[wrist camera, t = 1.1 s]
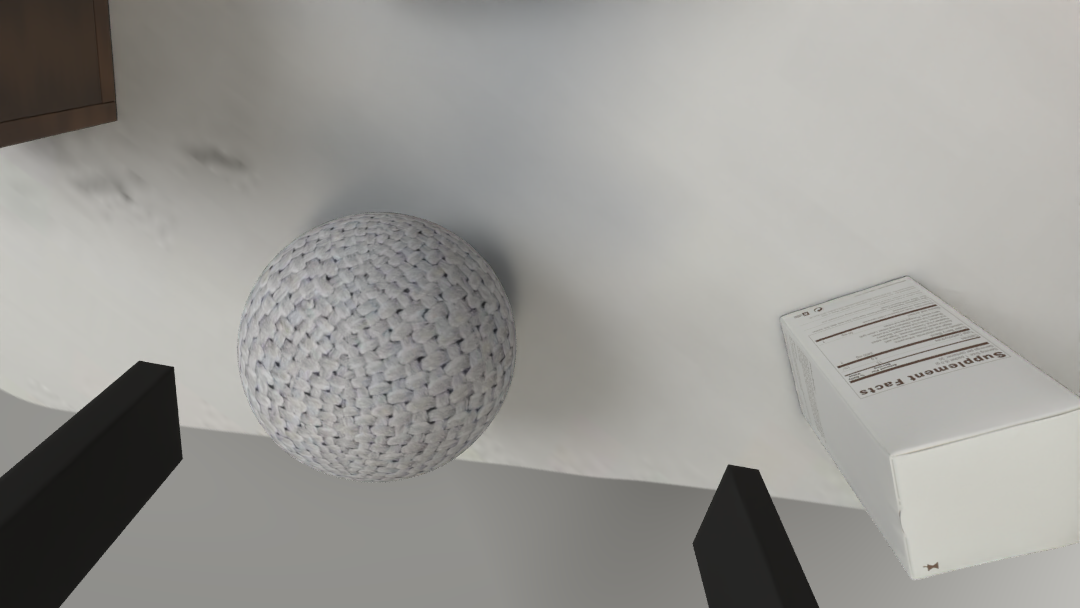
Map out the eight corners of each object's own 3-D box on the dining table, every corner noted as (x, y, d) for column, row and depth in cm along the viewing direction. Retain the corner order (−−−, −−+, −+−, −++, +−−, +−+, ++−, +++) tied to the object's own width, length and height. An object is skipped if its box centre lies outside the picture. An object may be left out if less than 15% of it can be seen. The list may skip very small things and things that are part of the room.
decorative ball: (297, 166, 37) (149, 253, 23) (535, 199, 37) (526, 301, 24) (306, 369, 43) (196, 528, 30) (509, 393, 44) (490, 560, 30)
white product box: (924, 379, 43) (1097, 545, 29) (800, 414, 44) (909, 588, 31) (911, 271, 39) (1102, 404, 26) (776, 313, 41) (889, 459, 27)
